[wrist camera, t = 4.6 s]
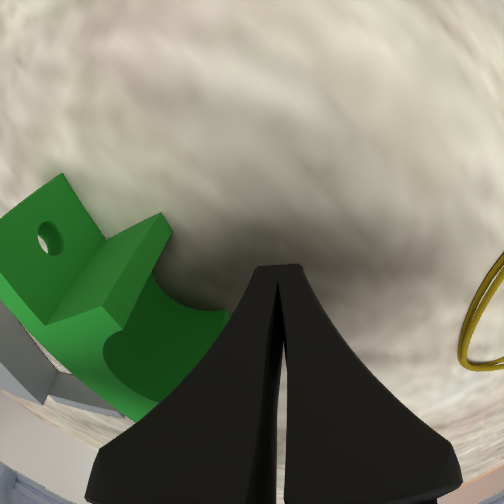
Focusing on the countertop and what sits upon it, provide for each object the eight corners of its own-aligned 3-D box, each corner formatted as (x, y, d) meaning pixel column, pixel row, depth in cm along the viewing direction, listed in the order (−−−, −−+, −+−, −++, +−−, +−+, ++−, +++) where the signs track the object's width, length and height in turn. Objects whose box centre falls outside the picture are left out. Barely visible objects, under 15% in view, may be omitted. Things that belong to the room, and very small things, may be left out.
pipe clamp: (264, 357, 13) (260, 448, 10) (197, 370, 14) (181, 451, 11) (115, 130, 8) (13, 192, 4) (47, 184, 9) (-36, 256, 5)
